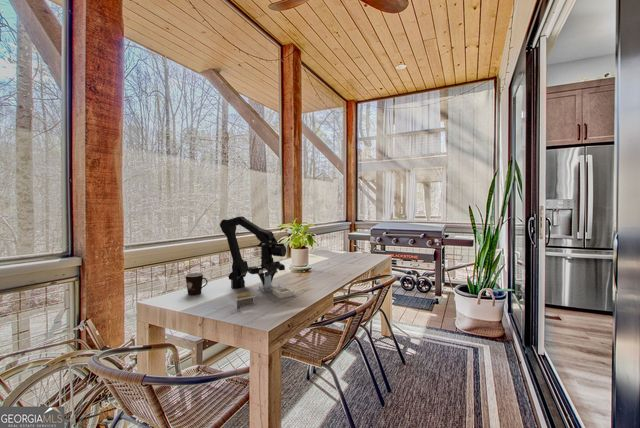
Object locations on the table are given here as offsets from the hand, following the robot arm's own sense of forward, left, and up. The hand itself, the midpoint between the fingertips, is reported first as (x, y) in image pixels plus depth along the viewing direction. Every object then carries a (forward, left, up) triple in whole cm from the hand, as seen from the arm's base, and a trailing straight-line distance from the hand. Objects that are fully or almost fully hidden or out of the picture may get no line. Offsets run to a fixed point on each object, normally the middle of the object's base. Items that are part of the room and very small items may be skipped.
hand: (266, 284), depth 160 cm
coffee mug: (-32, +18, -5) cm, 37 cm away
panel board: (+3, -6, -4) cm, 8 cm away
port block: (+5, -11, -3) cm, 12 cm away
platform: (-16, -13, -5) cm, 22 cm away
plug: (0, 0, -3) cm, 3 cm away
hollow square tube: (0, 0, -3) cm, 3 cm away
